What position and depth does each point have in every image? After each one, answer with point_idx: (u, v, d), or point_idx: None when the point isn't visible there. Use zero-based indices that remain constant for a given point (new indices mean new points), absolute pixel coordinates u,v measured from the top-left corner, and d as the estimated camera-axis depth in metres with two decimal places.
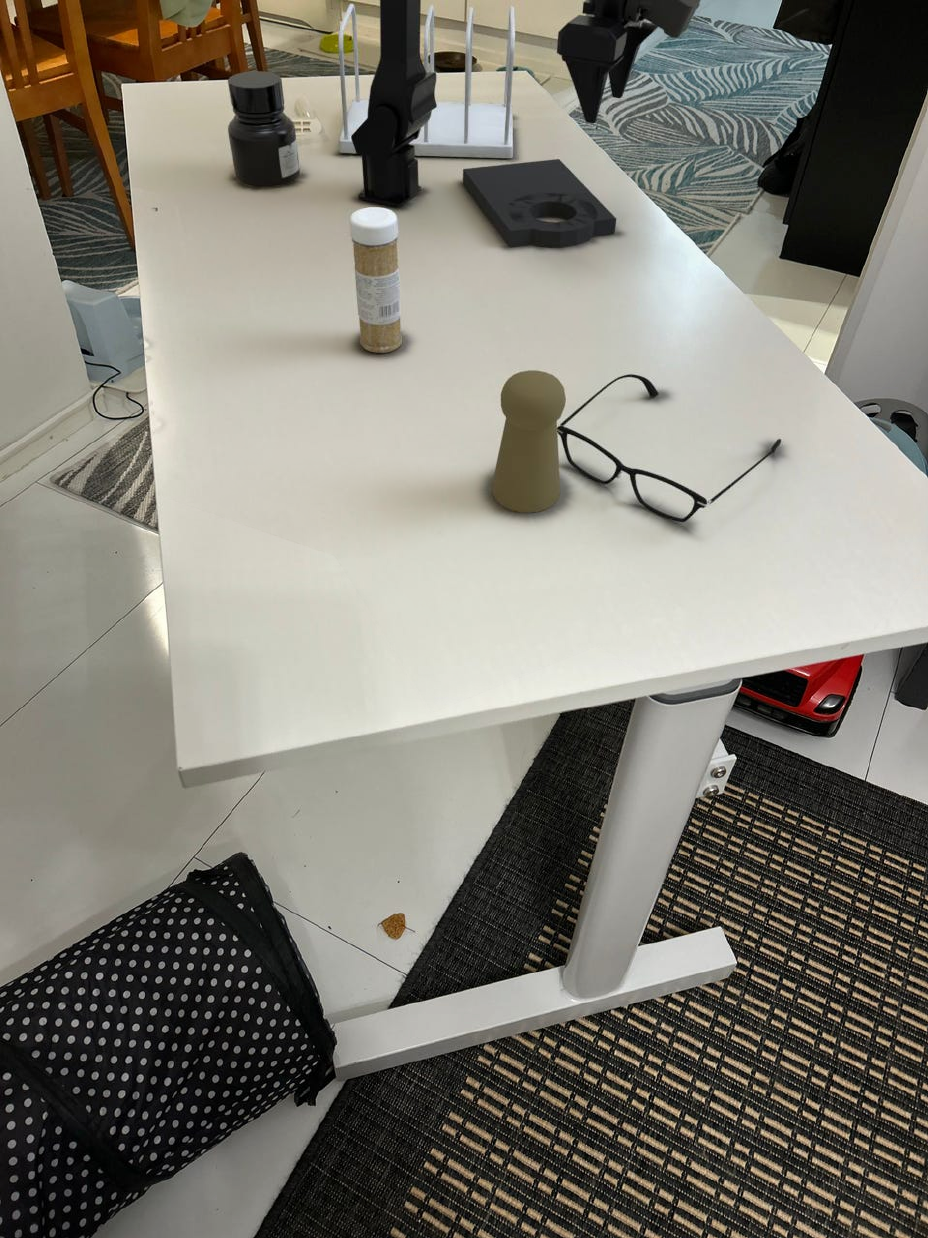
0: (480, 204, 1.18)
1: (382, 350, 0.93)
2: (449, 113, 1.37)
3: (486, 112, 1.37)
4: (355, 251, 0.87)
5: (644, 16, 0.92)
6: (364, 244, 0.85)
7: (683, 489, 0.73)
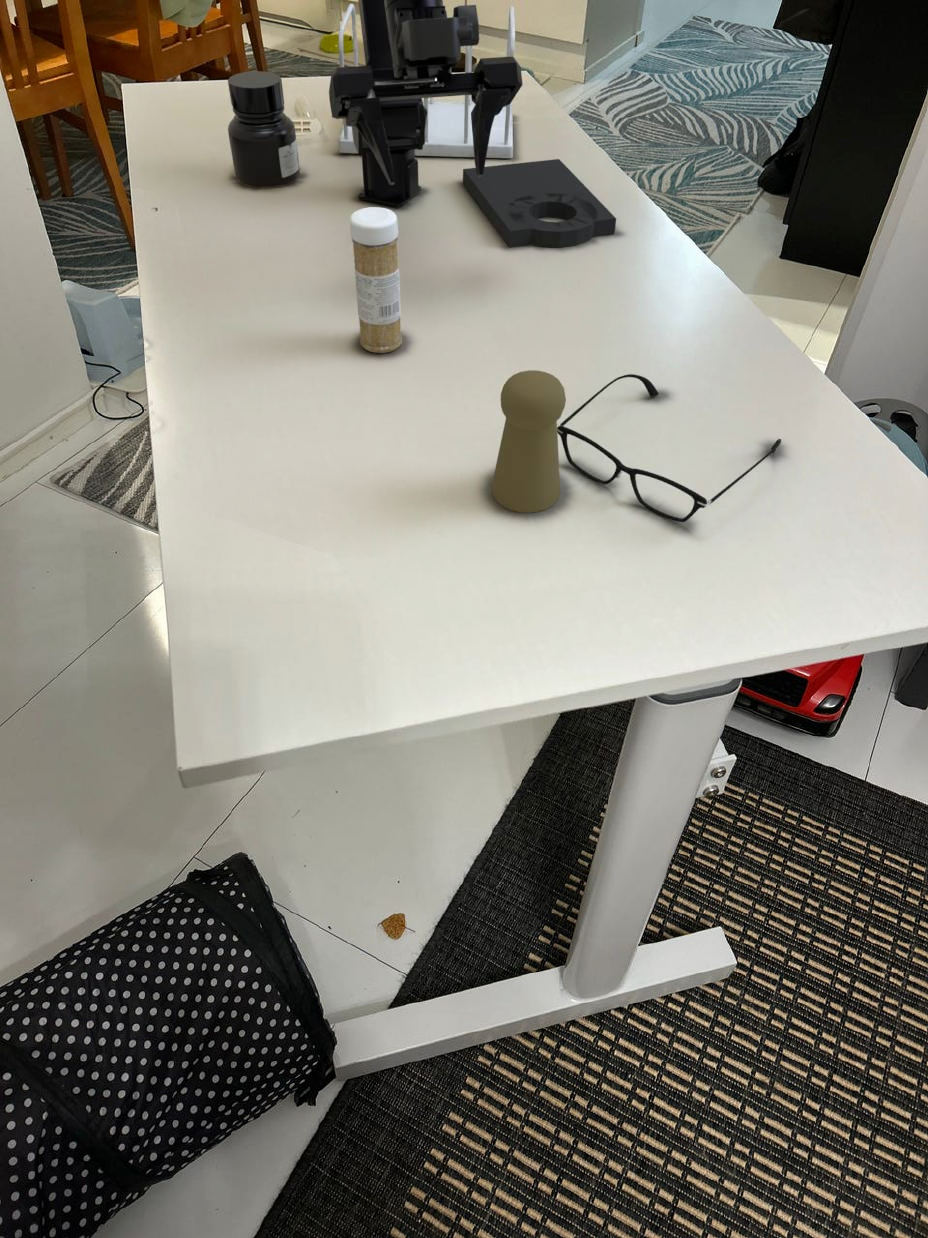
0: (480, 204, 1.18)
1: (382, 350, 0.93)
2: (449, 113, 1.37)
3: None
4: (355, 251, 0.87)
5: (404, 57, 0.85)
6: (364, 244, 0.85)
7: (683, 489, 0.73)
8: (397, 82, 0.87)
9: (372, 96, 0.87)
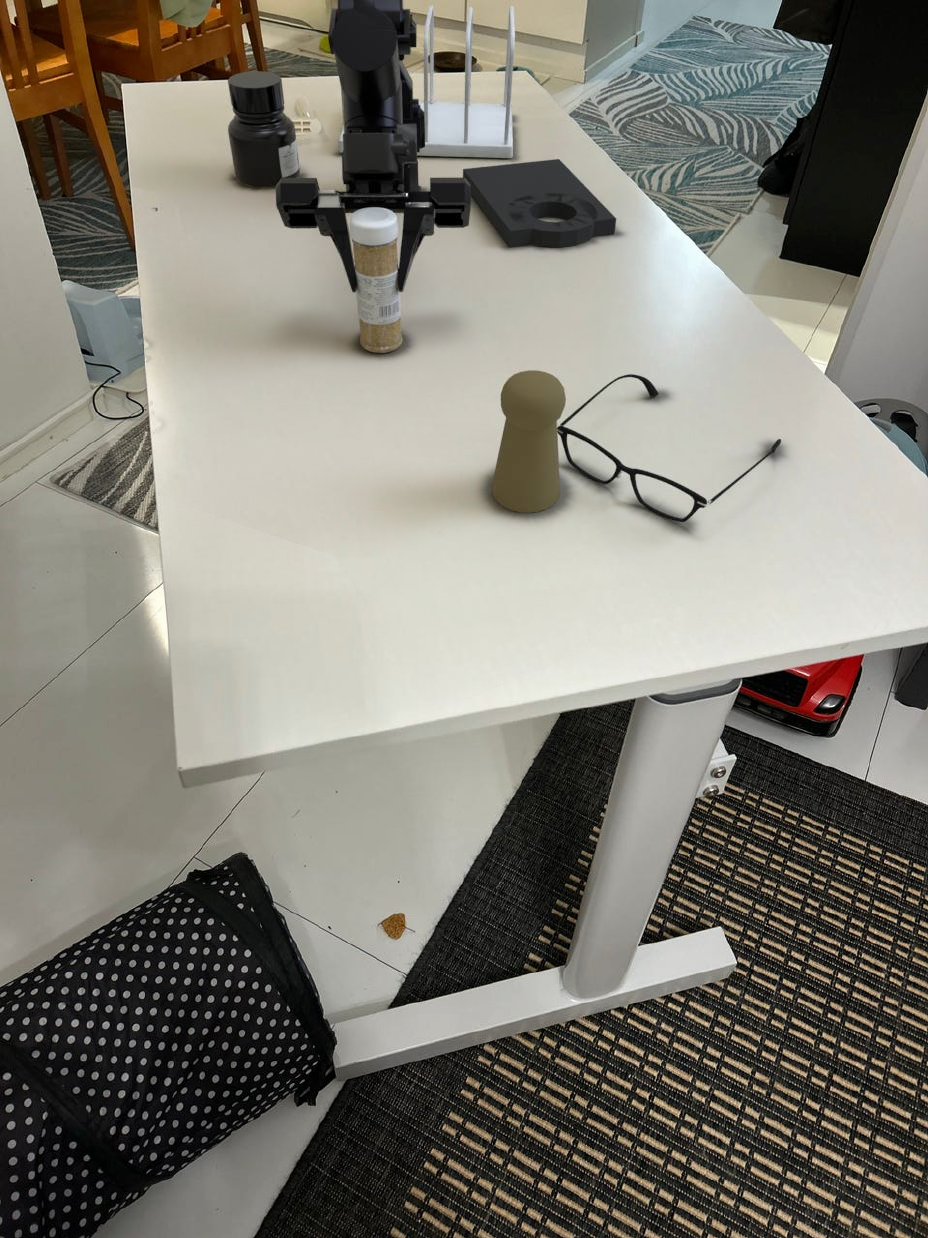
0: (480, 204, 1.18)
1: (382, 350, 0.93)
2: (449, 113, 1.37)
3: (485, 112, 1.37)
4: (355, 251, 0.87)
5: None
6: (364, 244, 0.85)
7: (683, 489, 0.73)
8: (366, 195, 0.87)
9: (315, 206, 0.87)
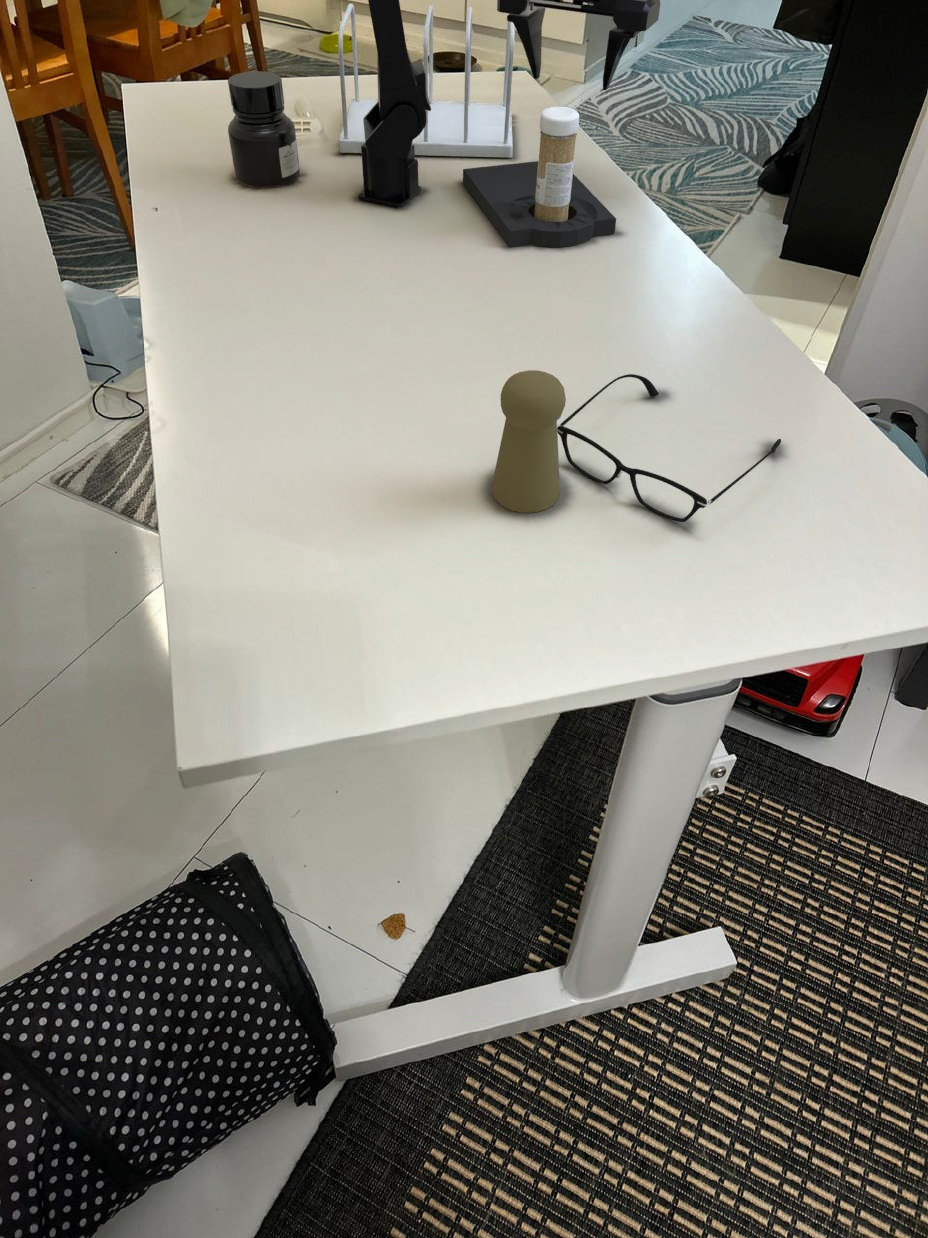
0: (480, 204, 1.18)
1: None
2: (449, 113, 1.37)
3: (485, 111, 1.38)
4: (559, 146, 1.06)
5: None
6: (570, 135, 1.05)
7: (683, 489, 0.73)
8: None
9: None
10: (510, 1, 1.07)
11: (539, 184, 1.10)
